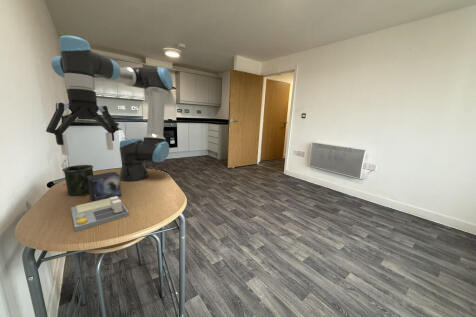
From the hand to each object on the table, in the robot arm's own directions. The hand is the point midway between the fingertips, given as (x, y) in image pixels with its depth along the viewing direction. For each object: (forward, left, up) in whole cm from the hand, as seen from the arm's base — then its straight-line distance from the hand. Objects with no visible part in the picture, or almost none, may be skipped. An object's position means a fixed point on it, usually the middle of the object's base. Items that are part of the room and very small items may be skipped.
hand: (90, 152), depth 66 cm
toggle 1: (-5, +5, -21) cm, 22 cm away
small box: (-5, -13, -23) cm, 27 cm away
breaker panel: (0, +3, -23) cm, 23 cm away
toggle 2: (-5, +9, -21) cm, 23 cm away
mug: (+2, -26, -23) cm, 35 cm away
